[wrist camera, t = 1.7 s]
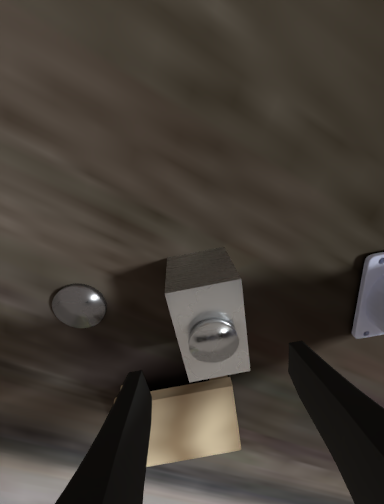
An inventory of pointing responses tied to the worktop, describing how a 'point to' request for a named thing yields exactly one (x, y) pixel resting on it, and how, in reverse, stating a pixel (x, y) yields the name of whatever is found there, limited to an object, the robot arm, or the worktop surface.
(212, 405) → the stand
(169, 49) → the worktop surface
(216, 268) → the housing
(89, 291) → the round metal disc
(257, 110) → the worktop surface
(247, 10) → the worktop surface
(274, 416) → the worktop surface
